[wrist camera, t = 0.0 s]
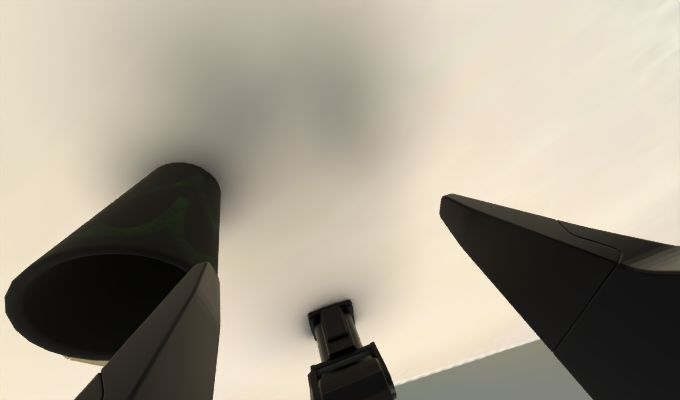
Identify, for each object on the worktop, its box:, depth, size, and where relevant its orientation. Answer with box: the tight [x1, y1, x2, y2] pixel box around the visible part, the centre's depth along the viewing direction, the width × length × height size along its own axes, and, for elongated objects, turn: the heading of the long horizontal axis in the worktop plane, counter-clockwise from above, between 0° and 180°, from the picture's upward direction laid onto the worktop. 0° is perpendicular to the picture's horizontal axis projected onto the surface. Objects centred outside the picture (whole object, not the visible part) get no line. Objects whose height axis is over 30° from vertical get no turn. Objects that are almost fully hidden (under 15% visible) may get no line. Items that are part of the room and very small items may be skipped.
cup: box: [5, 163, 221, 361], centre depth 16 cm, size 8×8×12 cm
